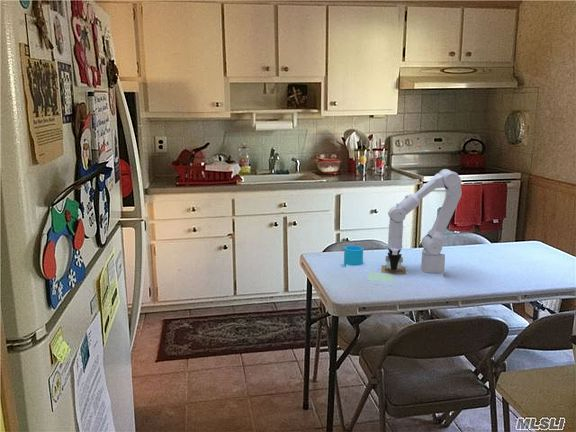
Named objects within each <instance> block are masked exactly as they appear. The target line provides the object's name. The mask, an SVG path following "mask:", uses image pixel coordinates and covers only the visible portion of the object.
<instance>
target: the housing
mask: <svg viewBox="0 0 576 432" xmlns="http://www.w3.org/2000/svg"><path fill="white" fill-rule="evenodd" d="M385 262H386V264H385V265H384V266H385V271H398V272H402V267H403V266H402V263H403V262H404V257H403V256H401V258H400V259H399V262H398V266H397V269H396V270H391V265H390V259H389V256H388V255H385Z"/></svg>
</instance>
